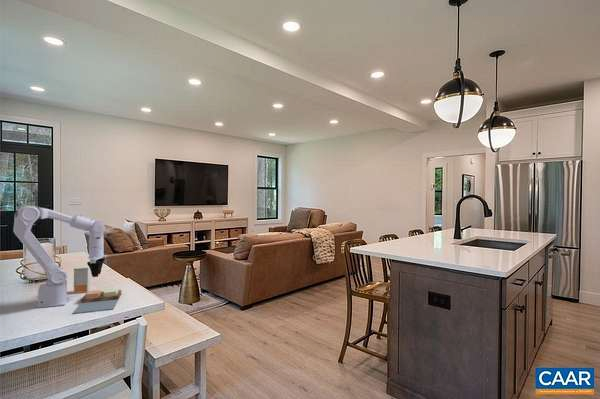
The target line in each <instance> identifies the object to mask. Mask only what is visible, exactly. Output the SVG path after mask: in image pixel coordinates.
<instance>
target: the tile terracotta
mask: <svg viewBox="0 0 600 399" xmlns="http://www.w3.org/2000/svg"><path fill="white" fill-rule="evenodd" d="M101 292H102V290H101V289H96V290H90V291H88V292H85V294H84V296H85V298H89V297H98V296H99V295H100V294H101Z"/></svg>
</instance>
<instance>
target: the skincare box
mask: <svg viewBox="0 0 600 399" xmlns="http://www.w3.org/2000/svg"><path fill="white" fill-rule="evenodd" d="M88 291H92V274H91V270H90V268H89V266H88V265H85V266H83V265H82V266H76V267H74V268H73V294H81V293H82V294H83V293H87V292H88Z"/></svg>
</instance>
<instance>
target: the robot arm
mask: <svg viewBox="0 0 600 399" xmlns="http://www.w3.org/2000/svg"><path fill="white" fill-rule="evenodd" d="M13 216H14V220H13V221H14V222H13V230H12V231H13V233H14V235H15V237H17V238H18V239H19V240H18V241H20V243H22V245H24V247H25V248H26V250H27V251H28V252H29V254H31V256H32V257H33V258H34V259H35V261H36V262H37V263H38V265H39V266H40V267H41V268H42V270H44V274H45V277H46V279H47V280H46V282H45V283H42V284H40V285H39V287H38V290H37V306H36V308H38V309H39V308H47V307H48V308H49V307H57V306H65V305H66V304H67V303H68V302H69V301H70V300H71V298H70V297H69V298H68V294H67V293H68V287H67V286H68V282H67V281H68V280H67V279H68V277H69V276H68V271H67V270H65V269H63V268H62V266H60V265H58V264H57V263H56V261H54V259H53V258H52V257H51V255H50V254H49V253H48V252H47V250H46V249H45V247H44V246H43V245H42V244H41V243H40V242H39V240H38V239H37V238H36V236H35V235H34V234H33V232H32V227H33V225H34V223H35V222H36V221H38V219H39V220H40V219H41V220H45V219H52V220H55V221H60V222H64V223H66V224H67V223H68V224H69V226H70V227H71V228H74V229H78V230H81V231H85V232H88V233H89V234H88V235H89V236H88V243H89V244H88V259H89V261H87V266H89V268H90V270H91V278H98V277H99V275H101V272H102V268H103V265H104V262H105V260H106V258H107V257H108V256H107V254H105V253H104V251H105V250H104V247H105V246H104V244H105V243H104V239H105V238H104V232H105V230H106V225H105V224H104V222H102V221H99V220H95V218H94V217H93V218H90V217H87V216H84V214H75V215H73V216H71V215H68V214H65V213H62V212H60V211H57V210H53V209H51V208H50V209H49V208H47V207H40V206H39V207H38V206H33V205H30V204H29V205H27V204H26V205H21V206H20V207H19V208H18V209H17V210H16V211H15V213H14V215H13Z"/></svg>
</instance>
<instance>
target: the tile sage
mask: <svg viewBox="0 0 600 399" xmlns="http://www.w3.org/2000/svg"><path fill="white" fill-rule="evenodd" d="M118 290H119V288H118V287H117V288H108V289H105V290H104V293H103V296H110V295H117V293H118Z"/></svg>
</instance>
